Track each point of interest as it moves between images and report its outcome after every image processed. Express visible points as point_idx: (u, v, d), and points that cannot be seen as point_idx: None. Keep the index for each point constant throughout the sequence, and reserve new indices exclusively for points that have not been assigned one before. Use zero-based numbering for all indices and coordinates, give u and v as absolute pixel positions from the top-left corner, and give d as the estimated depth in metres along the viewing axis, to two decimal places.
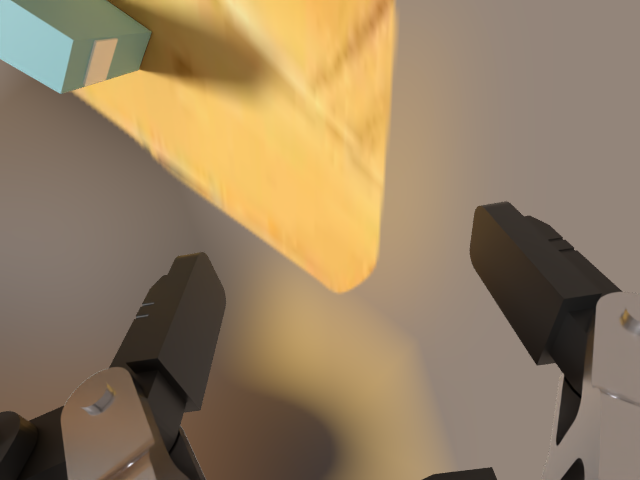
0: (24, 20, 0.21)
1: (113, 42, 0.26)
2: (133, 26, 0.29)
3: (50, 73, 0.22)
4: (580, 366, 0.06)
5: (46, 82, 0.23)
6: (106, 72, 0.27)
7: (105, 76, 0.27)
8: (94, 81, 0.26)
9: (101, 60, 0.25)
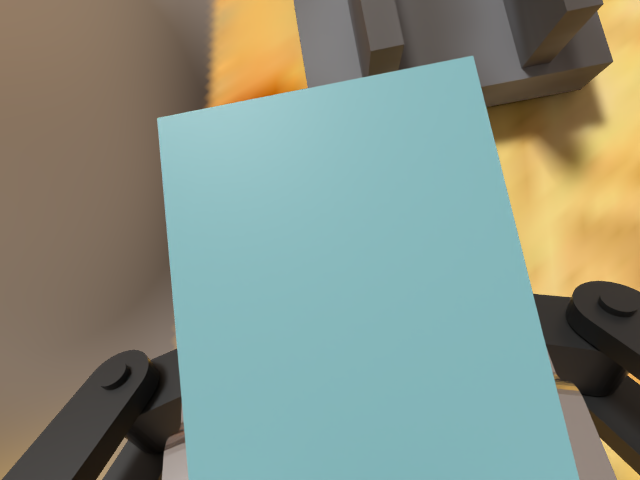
0: (470, 299, 0.04)
1: None
2: None
3: None
4: None
5: None
6: None
7: None
8: None
9: None
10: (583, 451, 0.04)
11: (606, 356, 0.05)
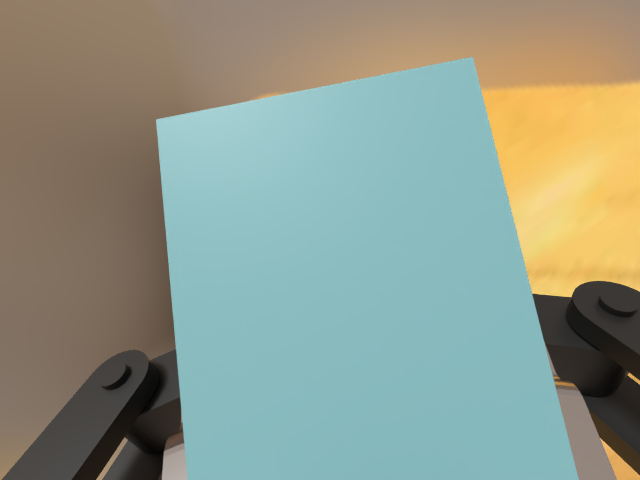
0: (469, 301, 0.04)
1: None
2: None
3: None
4: None
5: None
6: None
7: None
8: None
9: None
10: (583, 450, 0.04)
11: (606, 356, 0.05)
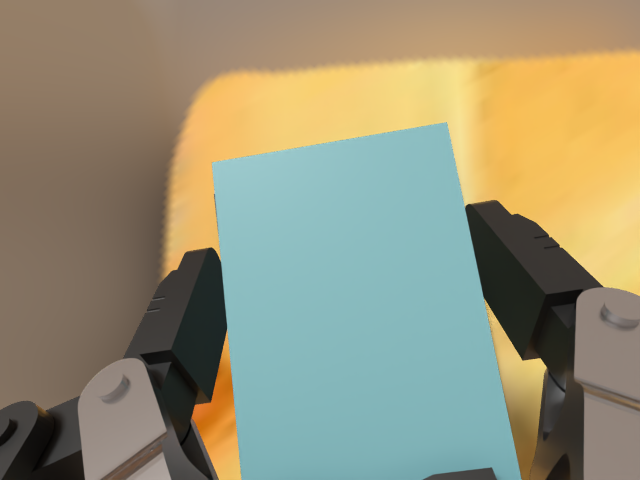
0: (439, 301, 0.05)
1: None
2: None
3: (306, 452, 0.05)
4: (563, 361, 0.06)
5: (252, 448, 0.05)
6: None
7: None
8: None
9: None
10: None
11: None
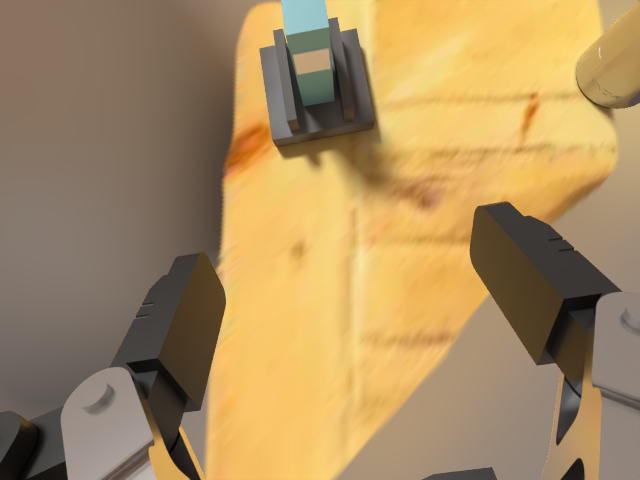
0: (317, 1, 0.30)
1: (327, 66, 0.34)
2: None
3: (295, 24, 0.30)
4: (580, 366, 0.06)
5: (286, 25, 0.30)
6: (303, 72, 0.35)
7: (300, 72, 0.35)
8: (296, 63, 0.33)
9: (314, 61, 0.33)
10: None
11: None
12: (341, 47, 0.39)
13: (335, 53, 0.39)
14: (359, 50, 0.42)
